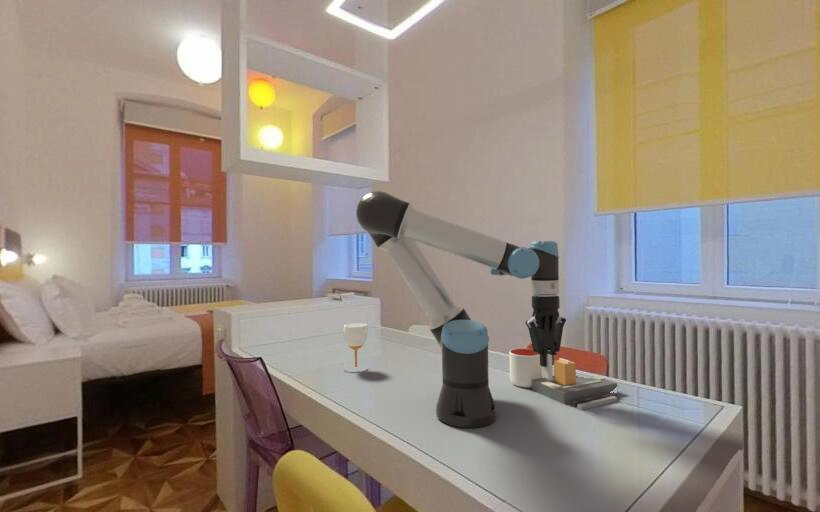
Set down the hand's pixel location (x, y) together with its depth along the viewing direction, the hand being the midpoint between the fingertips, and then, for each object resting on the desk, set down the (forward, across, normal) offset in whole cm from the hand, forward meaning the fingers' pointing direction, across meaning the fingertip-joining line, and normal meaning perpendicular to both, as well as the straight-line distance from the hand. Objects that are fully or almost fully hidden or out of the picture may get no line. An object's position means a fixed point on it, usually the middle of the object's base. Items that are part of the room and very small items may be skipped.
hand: (547, 377), depth 113 cm
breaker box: (+6, +10, 0) cm, 11 cm away
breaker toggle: (+2, +7, 0) cm, 7 cm away
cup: (+6, +2, +12) cm, 13 cm away
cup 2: (+5, -43, +51) cm, 67 cm away
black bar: (+6, +9, -8) cm, 14 cm away
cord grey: (+6, +8, -10) cm, 14 cm away
